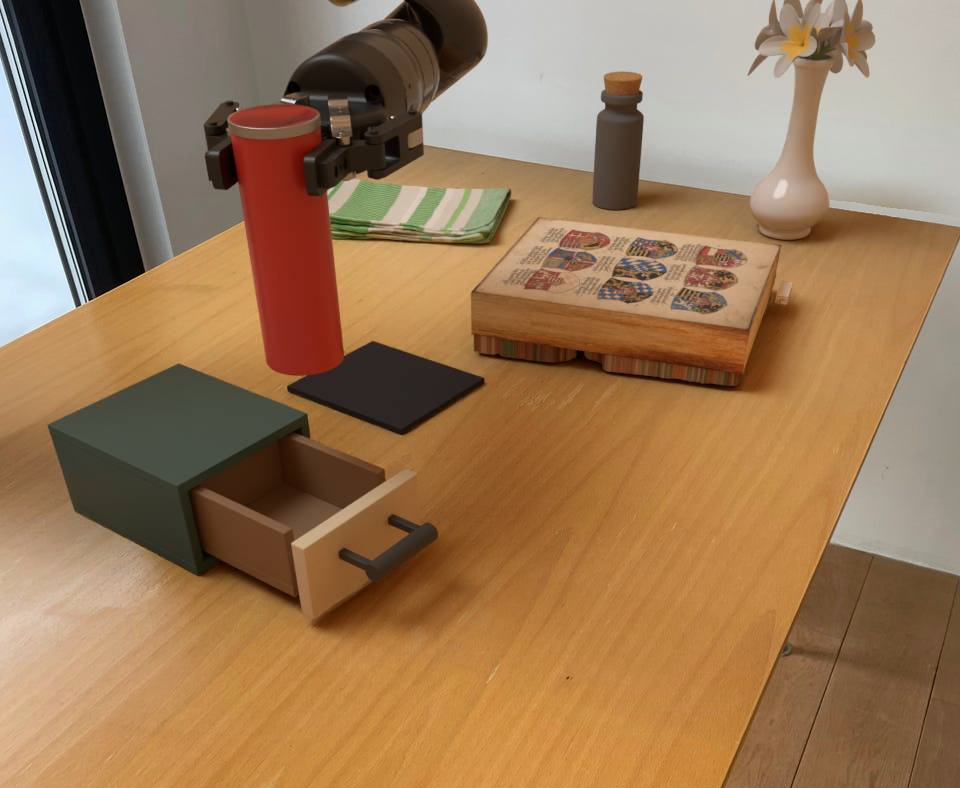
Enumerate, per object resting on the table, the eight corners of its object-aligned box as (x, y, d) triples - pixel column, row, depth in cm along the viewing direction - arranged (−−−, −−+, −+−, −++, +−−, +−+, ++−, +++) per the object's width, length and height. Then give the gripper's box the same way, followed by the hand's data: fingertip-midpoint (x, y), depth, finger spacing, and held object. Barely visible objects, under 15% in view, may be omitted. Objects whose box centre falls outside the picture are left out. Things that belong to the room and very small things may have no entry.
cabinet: (319, 499, 83) (307, 413, 78) (198, 576, 76) (177, 486, 71) (196, 445, 90) (178, 362, 85) (74, 510, 82) (46, 424, 77)
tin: (249, 364, 69) (207, 120, 60) (301, 335, 73) (270, 99, 63) (309, 383, 67) (277, 133, 57) (361, 353, 71) (338, 111, 61)
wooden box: (791, 297, 113) (543, 265, 120) (803, 237, 109) (545, 208, 116) (759, 399, 95) (471, 355, 103) (771, 333, 91) (470, 292, 98)
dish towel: (491, 248, 125) (490, 225, 123) (302, 239, 128) (299, 216, 126) (511, 199, 138) (511, 178, 136) (340, 193, 141) (338, 171, 139)
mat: (287, 391, 97) (286, 385, 97) (373, 346, 105) (372, 340, 104) (401, 435, 91) (401, 429, 90) (484, 383, 98) (484, 377, 98)
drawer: (464, 559, 75) (462, 490, 71) (357, 642, 68) (349, 570, 65) (291, 483, 83) (281, 418, 79) (181, 551, 76) (164, 483, 73)
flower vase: (833, 208, 134) (879, -20, 118) (837, 260, 120) (889, 10, 104) (730, 202, 136) (761, -23, 120) (722, 252, 123) (756, 7, 106)
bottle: (583, 200, 138) (589, 73, 128) (621, 193, 140) (629, 67, 130) (607, 213, 134) (616, 83, 124) (645, 205, 136) (656, 77, 126)
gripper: (253, 35, 71) (134, 98, 59) (456, 42, 69) (377, 110, 56) (269, 152, 76) (162, 232, 64) (459, 163, 74) (386, 250, 61)
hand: (263, 174), depth 60 cm, fingers closed on tin, 5 cm apart
